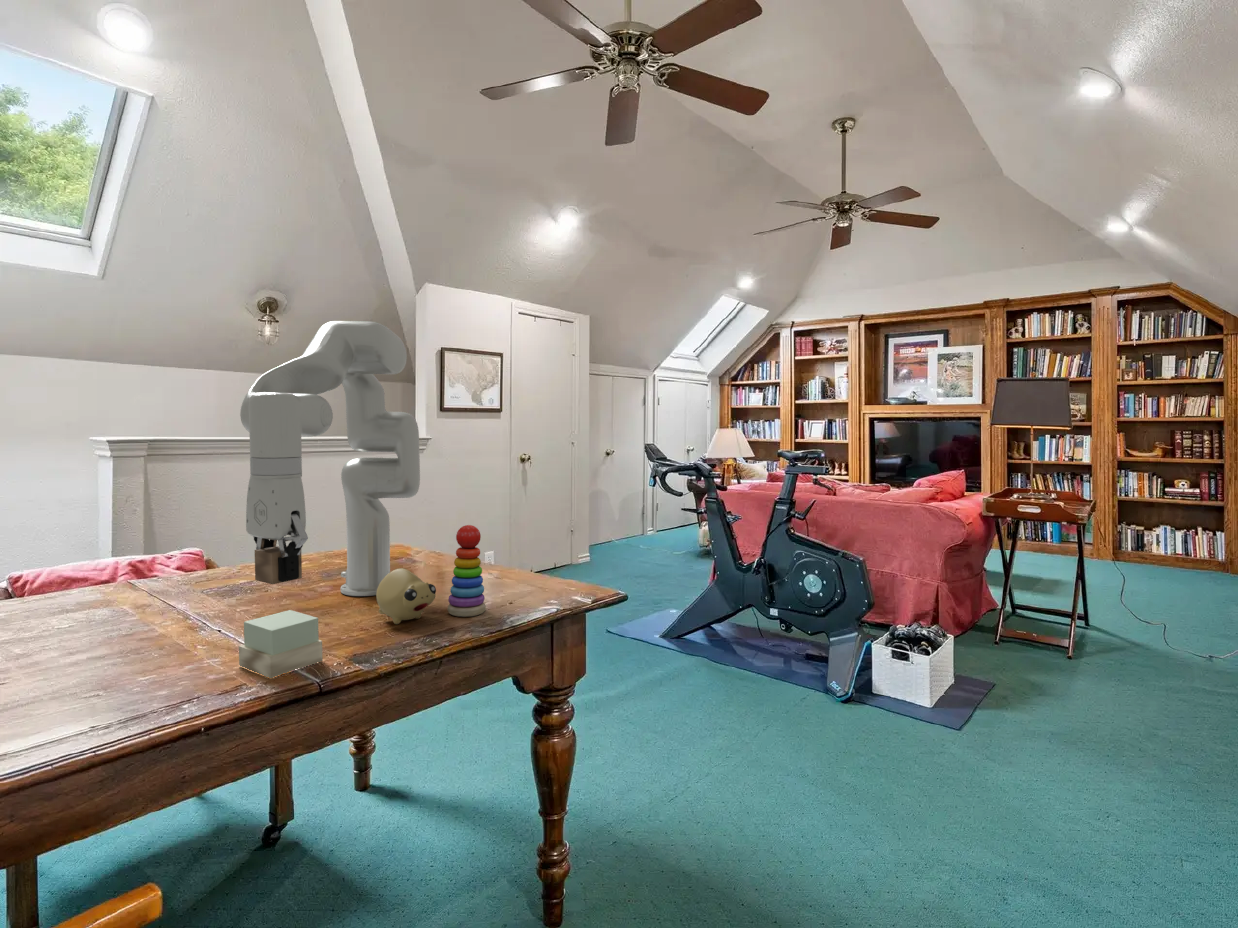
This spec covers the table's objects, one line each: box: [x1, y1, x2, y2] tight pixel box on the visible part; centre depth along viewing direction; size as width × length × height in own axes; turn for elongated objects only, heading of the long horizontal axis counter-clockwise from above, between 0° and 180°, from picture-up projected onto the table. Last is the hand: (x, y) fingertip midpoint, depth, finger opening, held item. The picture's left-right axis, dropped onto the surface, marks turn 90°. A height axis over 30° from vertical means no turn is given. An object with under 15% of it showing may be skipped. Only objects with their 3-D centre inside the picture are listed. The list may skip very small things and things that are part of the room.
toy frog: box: [375, 567, 437, 625], centre depth 132 cm, size 10×12×11 cm
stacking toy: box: [447, 524, 487, 618], centre depth 138 cm, size 8×8×19 cm
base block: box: [238, 639, 323, 679], centre depth 109 cm, size 9×9×4 cm
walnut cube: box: [254, 545, 303, 585], centre depth 108 cm, size 5×5×5 cm
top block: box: [243, 609, 320, 656], centre depth 108 cm, size 8×8×4 cm
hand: (278, 576), depth 108 cm, fingers closed on walnut cube, 5 cm apart
